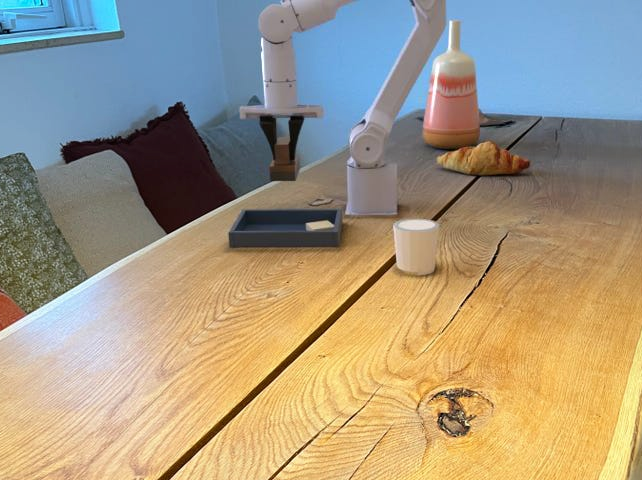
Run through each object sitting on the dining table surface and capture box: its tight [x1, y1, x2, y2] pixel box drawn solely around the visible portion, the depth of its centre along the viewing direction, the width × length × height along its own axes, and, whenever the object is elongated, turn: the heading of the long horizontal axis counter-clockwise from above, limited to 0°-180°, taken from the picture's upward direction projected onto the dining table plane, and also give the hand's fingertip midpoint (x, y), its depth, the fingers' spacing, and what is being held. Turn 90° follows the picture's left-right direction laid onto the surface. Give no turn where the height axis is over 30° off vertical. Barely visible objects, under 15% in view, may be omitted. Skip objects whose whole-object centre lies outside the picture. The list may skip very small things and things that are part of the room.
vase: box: [422, 19, 481, 150], centre depth 196 cm, size 14×14×30 cm
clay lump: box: [306, 220, 334, 231], centre depth 135 cm, size 4×4×1 cm
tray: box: [227, 208, 344, 249], centre depth 134 cm, size 18×14×3 cm
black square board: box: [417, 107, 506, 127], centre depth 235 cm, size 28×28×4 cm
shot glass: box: [392, 218, 440, 277], centre depth 119 cm, size 7×7×7 cm
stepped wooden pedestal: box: [268, 136, 301, 182], centre depth 143 cm, size 4×9×6 cm, turn 1°
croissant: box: [436, 140, 531, 176], centre depth 176 cm, size 21×10×8 cm, turn 72°
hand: (284, 159), depth 143 cm, fingers closed on stepped wooden pedestal, 2 cm apart
